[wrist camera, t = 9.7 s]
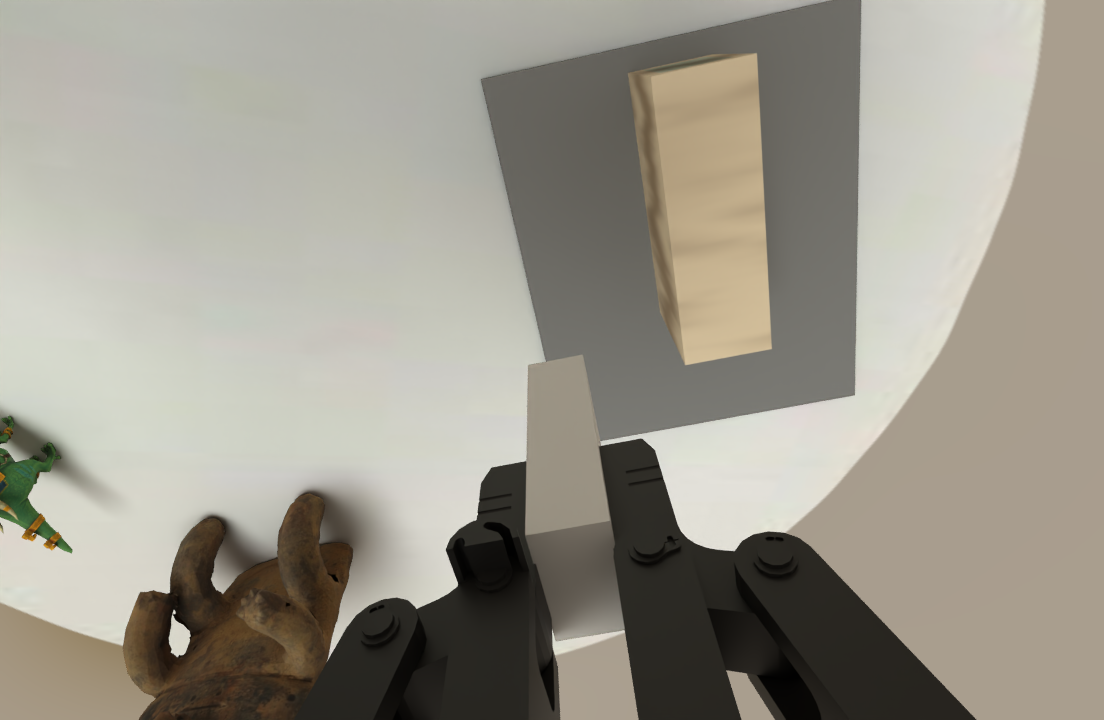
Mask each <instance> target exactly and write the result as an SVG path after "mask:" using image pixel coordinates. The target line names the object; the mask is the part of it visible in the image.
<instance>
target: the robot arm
mask: <svg viewBox="0 0 1104 720" xmlns="http://www.w3.org/2000/svg"><path fill="white" fill-rule="evenodd" d="M479 500H480V502H479V505H478V515H477V520H476V521H473V522H471V523H469V524H467V525H466V526H464V527H462V528H461V529H459V530H458V531H457V532H456V533H455V534H454V535H453V537H452V538H451V539H450V541H449V543H448V545H447V548H446V552H447V555H448V557H449V560H450V563H451V565H452V568H453V571H454V573H455V576H456V579H457V581H458V587H456V588H455V589H454V590H453V591H451V592H450V593H449V594H447V595H445V596H444V597H442V598H440V599H438V600H436V601H434V602H431V603H429V604H427V605H425V606H422V607H420V608H418V609H416V608H415V606H413V605H412V604H411V603H410V602H409V601H408V600H404V599H400V598H390V599H383V600H381V601H378V602H376V603H374V604H372V605H369V606H368V607H367V608H365V609H364V610H363V611H361V612H360V613H359V614H357V615H356V616H355V618H354V619H353V620H352V622H351V623H350V624H349V625H348V627H347V628H346V630H345V632H344V633H343V635H342V637H341V639H340V640H339V642H338V644H337V646H336V647H335V649H334V651H333V652H332V654H331V656H330V658H329V659H328V661H327V663H326V665H325V666H324V668H323V670H322V672H321V673H320V675H319V677H318V679H317V680H316V682H315V684H314V685H313V687H312V689H311V691H310V692H309V694H308V696H307V698H306V699H305V701H304V703H303V705H302V706H301V708H300V710H299V712H298V713H297V715H296V717H295V718H294V720H560V704H559V683H558V682H559V681H558V666H557V662H556V658H555V655H554V651H553V646H552V629H553V633H554V636H555V640H556V641H561V640H567V639H573V638H579V637H585V636H591V635H598V634H604V633H610V632H616V631H622V630H625V634H626V641H627V647H628V653H629V660H630V667H631V673H632V679H633V686H634V692H635V699H636V705H637V712H638V718H639V720H741V717H740V714H739V710H738V707H737V704H736V701H735V697H734V695H733V691H732V688H731V684H730V681H729V678H728V675H727V672H726V670H729V671H735V672H742V673H747V675H748V678H749V679H750V681H751V682H752V684H753V685H754V687H755V689H756V690H757V692H758V694H759V695H760V697H761V698H762V700H763V701H764V703H765V704H766V706H767V707H768V709H769V711H770V712H771V714H772V715H773V717H774V718H775V720H976V719H975V718H974V717H973V716H972V715H971V714H970V713H969V712H968V710H967V709H966V708H965V707H964V706H963V705H962V704H961V703H960V702H959V701H958V700H957V699H956V698H955V697H954V696H953V695H952V694H951V693H950V692H949V691H948V690H947V689H946V688H945V686H944V685H943V684H942V683H941V682H940V681H939V680H938V679H937V678H936V677H935V676H934V675H933V674H932V673H931V672H930V671H929V670H928V669H927V668H926V667H925V666H924V665H923V663H922V662H921V661H920V660H919V659H918V658H917V657H916V656H915V655H914V654H913V653H912V652H911V651H910V650H909V649H908V648H907V647H906V646H905V645H904V644H903V643H902V642H901V641H900V640H899V639H898V637H897V636H896V635H895V634H894V633H893V632H892V631H891V630H890V629H889V628H888V627H887V626H886V625H885V624H884V623H883V622H882V621H881V620H880V619H879V618H878V617H877V615H876V614H874V612H873V611H872V610H871V609H870V608H869V607H868V606H867V605H866V604H865V603H864V602H863V601H862V600H861V599H860V598H859V597H858V596H857V595H856V593H855V592H853V590H852V589H851V588H850V587H849V586H848V585H847V584H846V583H845V582H844V581H843V580H842V579H841V578H840V577H839V576H838V575H837V574H836V573H835V572H834V570H833V569H832V568H831V567H830V566H829V565H828V564H827V563H826V562H825V561H824V560H823V559H822V558H821V557H820V556H819V555H818V554H817V553H816V552H815V551H814V550H813V549H812V548H811V547H810V546H809V545H808V544H806V543H805V542H804V541H802V540H801V539H800V538H798V537H795V536H792V535H789V534H786V533H781V532H763V533H759V534H754V535H752V536H750V537H748V538H747V539H745V540H743V541H742V542H741V543H740V545H739V546H738V548H737V549H736V550H735V551H724V550H715V549H710V548H705V547H703V546H700V545H697V544H695V543H694V542H692V541H690V540H689V539H687V538H686V537H685V535H684V534H683V533H682V532H681V531H680V529H679V527H678V525H677V521H676V518H675V515H674V511H673V508H672V505H671V502H670V498H669V495H668V492H667V489H666V485H665V482H664V480H663V475H662V472H661V469H660V466H659V462H658V459H657V456H656V453H655V450H654V449H653V448H652V447H651V446H650V445H648V444H647V443H646V442H645V441H644V440H643V439H636V440H631V441H626V442H620V443H615V444H609V445H604V446H601V443H600V437H599V432H598V428H597V423H596V418H595V413H594V408H593V403H592V398H591V393H590V388H589V383H588V378H587V373H586V368H585V363H584V358H583V355H578V356H573V357H568V358H562V359H557V360H552V361H547V362H542V363H537V364H531V365H528V401H527V459H526V461H525V462H520V463H514V464H509V465H503V466H498V467H492V468H491V469H490V471H489V472H488V474H487V475H486V477H485V478H484V480H483V481H482V483H481V489H480V497H479Z"/></svg>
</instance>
